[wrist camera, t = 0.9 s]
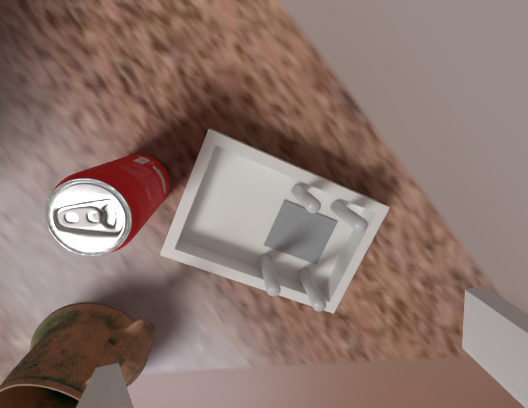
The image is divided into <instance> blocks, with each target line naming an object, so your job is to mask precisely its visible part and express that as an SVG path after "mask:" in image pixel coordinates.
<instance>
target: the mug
mask: <svg viewBox="0 0 528 408" xmlns="http://www.w3.org/2000/svg"><path fill="white" fill-rule="evenodd" d="M154 334H155V325H154V324H153V323H151V322H150V321H149V320H148V319H146V318H145V317H142V318H140V319H138V320H136V321H135V322H134V321H133V320H132V319H131V318H130V317H129V316H127V315H126V314H124V313H123V312H121V311H119V310H117V309H114V308H112V307H109V306H105V305H101V304H93V303H82V304H75V305H70V306H67V307H64V308H61V309H59V310H57V311H55V312H54V313H52V314H51V315H49V316H48V317H47V318H46V319H45V320H44V321H43V322H42V323H41V324H40V325H39V326H38V328H37V329H36V331H35V333H34V335H33V337H32V341H31V347H30V351H29V353H28V354H27V355H26V356H25V357H24V358H23V359H22V360H21V361H20V363H19V364H18V365H17V366H16V367H15V368H14V369H13V370H12V371H11V373H10V374H9V375H8V377H7V378H6V379H5V380H4V382H3V383H2V384H1V385H0V408H76V407H77V405H78V403H79V401H80V399H81V397H82V395H83V393H84V391H85V389H86V387H87V385H88V383H89V381H90V379H91V377H92V375H93V373H94V371H95V369H96V368H97V367H102V366H106V365H111V364H116V363H119V366H120V369H121V372H122V375H123V378H124V381H125V384H126V387H128V386H129V385H131V384H132V383H133V382H134V381H135V380H136V379H137V377H138V376H139V375H140V373H141V371H142V369H143V367H144V364H145V361H146V357H147V355H148V353H149V350H150V347H151V345H152V342H153V339H154Z"/></svg>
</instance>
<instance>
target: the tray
mask: <svg viewBox="0 0 528 408" xmlns="http://www.w3.org/2000/svg"><path fill="white" fill-rule="evenodd" d="M389 208H390V207H388V206H386V205H384V204H382V203H380V202H378V201H376V200H374V199H372V198H370V197H368V196H365V195H363V194H361V193H359V192H356V191H354V190H352V189H349V188H347V187H345V186H342V185H340V184H338V183H336V182H333V181H331V180H329V179H326V178H324V177H322V176H319V175H317V174H315V173H313V172H310V171H308V170H306V169H303V168H301V167H299V166H296V165H294V164H292V163H290V162H287V161H285V160H283V159H280V158H278V157H276V156H273V155H271V154H269V153H267V152H264V151H262V150H260V149H257V148H255V147H253V146H250V145H248V144H246V143H244V142H241V141H239V140H237V139H234V138H232V137H230V136H227V135H225V134H223V133H220V132H218V131H216V130H214V129H211V128H210V129H208V132H207V134H206V137H205V139H204V142H203V145H202V147H201V150H200V152H199V155H198V157H197V160H196V163H195V165H194V168H193V170H192V173H191V176H190V178H189V181H188V183H187V186H186V189H185V191H184V194H183V196H182V199H181V202H180V204H179V207H178V209H177V212H176V214H175V217H174V220H173V222H172V225H171V227H170V230H169V233H168V235H167V238H166V240H165V243H164V246H163V248H162V251H161V253H160V255H161V256H164V257H167V258H170V259H173V260H176V261H179V262H182V263H185V264H188V265H191V266H194V267H197V268H200V269H203V270H205V271H208V272H211V273H214V274H217V275H220V276H223V277H226V278H229V279H232V280H235V281H238V282H241V283H244V284H247V285H250V286H253V287H256V288H259V289H262V290H265V291H267V293H268V294H269V295H270V296H276V295H280V296H283V297H286V298H289V299H292V300H295V301H298V302H301V303H304V304H307V305H310V306H313V308H314V310H315V311H322V310H324V311H327V312H330V313H334V312H335V310H336V308H337V306H338V304H339V302H340V300H341V298H342V296H343V295H344V293H345V291H346V289H347V287H348V285H349V283H350V281H351V280H352V278H353V276H354V274H355V272H356V270H357V268H358V266H359V265H360V263H361V261H362V259H363V257H364V255H365V253H366V251H367V249H368V248H369V246H370V244H371V242H372V240H373V238H374V236H375V234H376V233H377V231H378V229H379V227H380V225H381V223H382V221H383V219H384V217H385V216H386V214H387V212H388V210H389Z"/></svg>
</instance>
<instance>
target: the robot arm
mask: <svg viewBox="0 0 528 408" xmlns="http://www.w3.org/2000/svg"><path fill="white" fill-rule="evenodd" d="M462 348H463V349H464V350H465V351H466V352H467V353H468V354H469V355H470V356H471V357H472V358H473V359H474V360H475V361H476V362H478V363H479V364H480V365H481V366H482V367H483V368H484V369H485V370H486V371H487V372H488V373H489V374H490V375H491V376H492V377H493V378H495V380H496V381H498V382H499V383H500V384H501V385H502V386H503V387H504V388H505V389H506V390H507V391H508V392H509V393H510V394H511V395H512V396H513V397H514V398H515V399H516V400H518V401H519V402H520V403H521V404H522V405H523V406H524V407H525V408H528V314H527V313H525V312H523V311H522V310H520V309H519V308H517V307H516V306H514V305H512V304H511V303H509V302H508V301H506V300H505V299H503V298H502V297H500V296H498V295H497V294H495V293H494V292H492V291H491V290H489V289H487V288H486V287H484V286H481V287H476V288H471V289H467V290H465V304H464V323H463V342H462ZM76 408H133V405H132V402H131V399H130V396H129V393H128V390H127V387H126V384H125V381H124V378H123V375H122V372H121V369H120V366H119V363H116V364H111V365H106V366H102V367H97V368H96V369H95V371H94V373H93V375H92V377H91V379H90V381H89V383H88V385H87V387H86V389H85V391H84V393H83V395H82V397H81V399H80V401H79V403H78V405H77V407H76Z"/></svg>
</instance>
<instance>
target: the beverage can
mask: <svg viewBox="0 0 528 408" xmlns="http://www.w3.org/2000/svg"><path fill="white" fill-rule="evenodd" d="M169 188H170V180H169V176H168V173H167V171H166V170H165V168H164V167H163V166H162V164H161V163H159V162H158V161H157V160H155V159H154V158H152V157H150V156H147V155H141V154H135V155H130V156H126V157H123V158H120V159H117V160H114V161H111V162H108V163H105V164H102V165H99V166H96V167H93V168H90V169H87V170H84V171H81V172H78V173H75V174H73V175H70V176H68V177H67V178H65V179H64V180H62V181H61V182H60V183H59V184H58V185H57V186H56V188H55V189H54V191H53V192H52V193H51V195H50V196H49V198H48V200H47V203H46V207H45V219H46V223H47V226H48V229H49V231H50V232H51V234H52V235H53V237H54V238H55V239H56V240H57V241H58V242H59V243H60V244H61V245H62V246H64V247H65V248H66V249H68V250H69V251H72V252H75V253H78V254H81V255H87V256H98V255H104V254H107V253H110V252H114V251H116V250H119V249H121V248H122V247H124V246H125V245H127V244H128V243H129V242H130V241H131V240H132V239H133V237H134V236H135V235H136V234H137V233H138V231H139V230H140V229H141V228H142V227H143V225H144V224H145V223H146V222H147V221H148V219H149V218H150V217H151V216H152V215H153V213H154V212H155V211H156V210H157V208H158V207H159V206H160V205H161V204H162V202H163V201H164V200H165V199H166V197H167V195H168V192H169Z"/></svg>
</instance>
